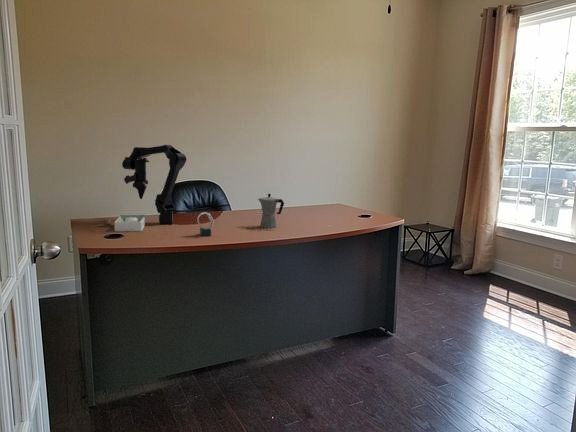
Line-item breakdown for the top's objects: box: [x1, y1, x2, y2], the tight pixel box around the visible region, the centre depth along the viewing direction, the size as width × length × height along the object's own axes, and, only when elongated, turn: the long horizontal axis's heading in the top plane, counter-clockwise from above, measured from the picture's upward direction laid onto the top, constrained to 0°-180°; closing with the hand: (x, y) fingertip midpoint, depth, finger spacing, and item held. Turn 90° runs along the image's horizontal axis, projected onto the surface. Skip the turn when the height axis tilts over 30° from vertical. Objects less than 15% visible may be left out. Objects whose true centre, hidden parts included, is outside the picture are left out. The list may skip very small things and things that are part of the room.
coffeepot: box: [257, 193, 285, 229], centre depth 244 cm, size 15×9×18 cm, turn 66°
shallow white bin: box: [114, 216, 146, 232], centre depth 228 cm, size 12×16×4 cm
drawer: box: [119, 214, 146, 222], centre depth 229 cm, size 12×16×4 cm
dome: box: [125, 217, 138, 222], centre depth 232 cm, size 6×6×2 cm
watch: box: [196, 212, 215, 237], centre depth 218 cm, size 6×8×11 cm
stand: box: [102, 218, 112, 228], centre depth 230 cm, size 4×4×4 cm
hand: (141, 198), depth 248 cm, fingers closed
